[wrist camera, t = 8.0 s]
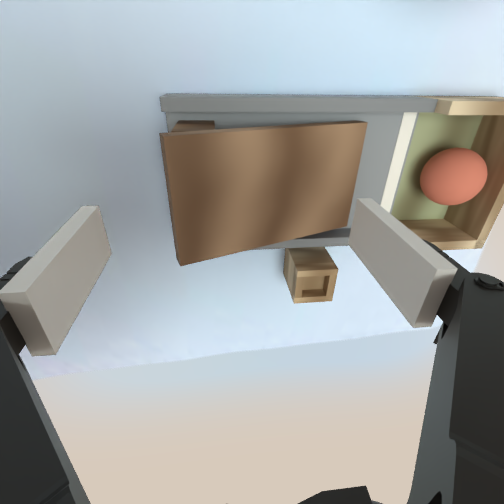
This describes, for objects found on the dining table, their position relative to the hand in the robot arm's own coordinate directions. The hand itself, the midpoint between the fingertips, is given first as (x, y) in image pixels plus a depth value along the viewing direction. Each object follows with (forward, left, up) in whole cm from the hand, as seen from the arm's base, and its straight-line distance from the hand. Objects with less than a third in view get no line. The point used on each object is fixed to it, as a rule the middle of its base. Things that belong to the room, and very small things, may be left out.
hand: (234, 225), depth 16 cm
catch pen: (+18, 0, -10) cm, 20 cm away
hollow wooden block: (+7, -8, -10) cm, 15 cm away
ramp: (+3, 0, -8) cm, 9 cm away
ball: (+18, 0, -7) cm, 19 cm away
